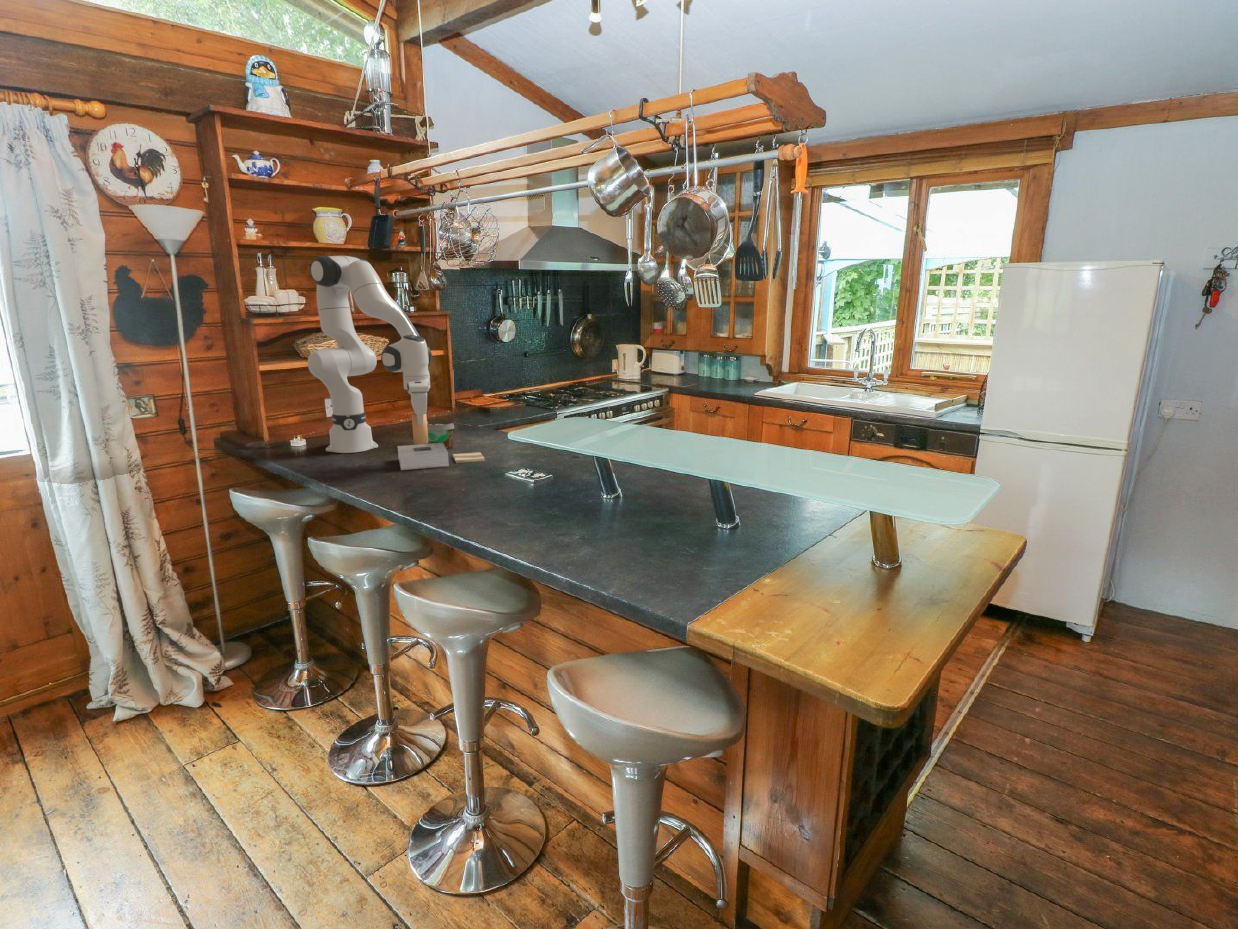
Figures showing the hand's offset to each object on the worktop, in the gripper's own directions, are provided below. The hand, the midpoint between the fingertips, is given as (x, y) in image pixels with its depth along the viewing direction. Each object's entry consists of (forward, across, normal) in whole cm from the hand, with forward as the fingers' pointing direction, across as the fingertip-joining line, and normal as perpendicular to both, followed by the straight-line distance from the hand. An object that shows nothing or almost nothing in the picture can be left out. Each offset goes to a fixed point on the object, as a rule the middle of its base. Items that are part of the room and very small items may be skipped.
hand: (419, 422), depth 234 cm
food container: (+15, -20, +7) cm, 26 cm away
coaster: (+14, 0, +16) cm, 22 cm away
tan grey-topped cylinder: (+7, 0, 0) cm, 7 cm away
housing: (+15, 0, 0) cm, 15 cm away
